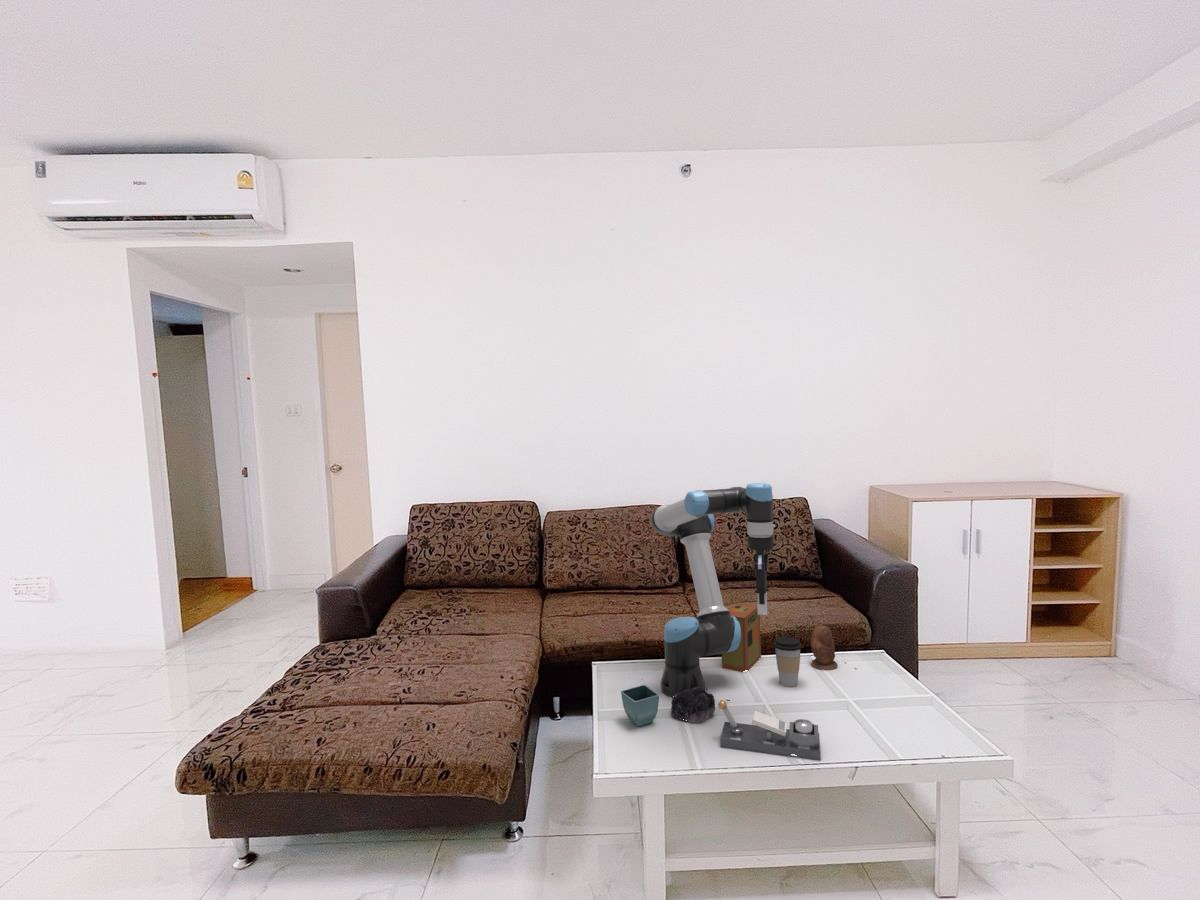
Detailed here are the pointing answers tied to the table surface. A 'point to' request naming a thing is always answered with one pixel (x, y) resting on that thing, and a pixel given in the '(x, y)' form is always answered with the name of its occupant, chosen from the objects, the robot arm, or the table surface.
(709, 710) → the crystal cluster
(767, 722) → the plate
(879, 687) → the table surface
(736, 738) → the panel
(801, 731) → the button
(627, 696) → the flower pot
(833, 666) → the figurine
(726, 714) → the toggle
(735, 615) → the box
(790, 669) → the coffee cup
